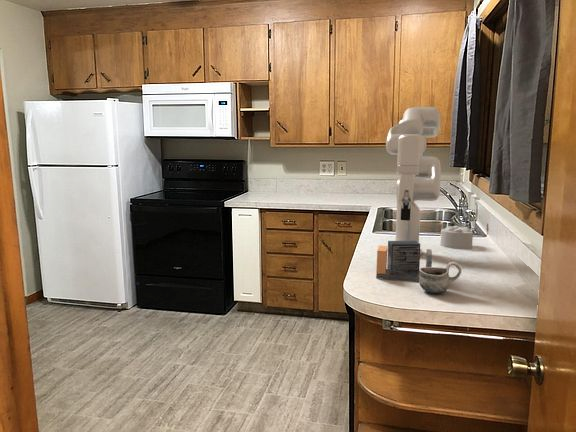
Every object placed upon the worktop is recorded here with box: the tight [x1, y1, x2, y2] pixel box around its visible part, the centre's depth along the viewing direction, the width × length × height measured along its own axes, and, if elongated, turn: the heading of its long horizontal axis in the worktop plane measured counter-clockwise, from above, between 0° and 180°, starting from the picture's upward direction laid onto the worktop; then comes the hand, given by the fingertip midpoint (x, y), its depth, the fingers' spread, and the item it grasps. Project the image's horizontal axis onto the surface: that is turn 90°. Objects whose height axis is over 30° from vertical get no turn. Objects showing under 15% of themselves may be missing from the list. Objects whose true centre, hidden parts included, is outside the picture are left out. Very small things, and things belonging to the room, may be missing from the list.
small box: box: [386, 240, 421, 271], centre depth 174 cm, size 11×6×10 cm, turn 92°
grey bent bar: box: [375, 248, 433, 283], centre depth 165 cm, size 8×18×10 cm, turn 76°
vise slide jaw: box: [376, 245, 388, 274], centre depth 167 cm, size 8×3×8 cm, turn 166°
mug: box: [419, 261, 463, 294], centre depth 150 cm, size 10×12×10 cm
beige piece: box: [440, 225, 474, 250], centre depth 212 cm, size 10×13×9 cm
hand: (405, 218), depth 172 cm, fingers open, 9 cm apart
